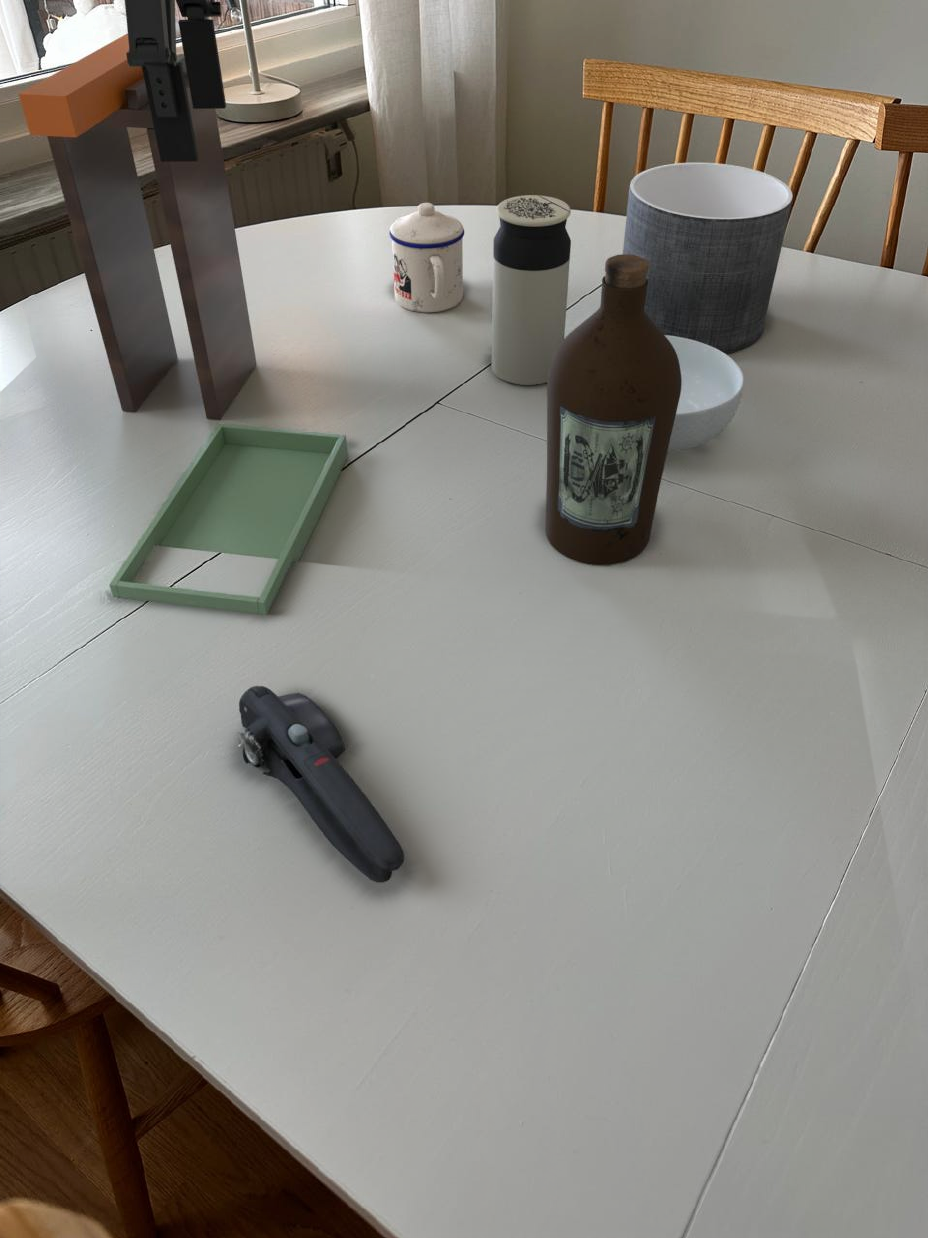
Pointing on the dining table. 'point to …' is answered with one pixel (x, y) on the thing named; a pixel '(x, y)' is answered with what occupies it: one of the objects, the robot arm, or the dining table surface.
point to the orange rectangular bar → (81, 92)
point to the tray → (241, 508)
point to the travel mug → (529, 287)
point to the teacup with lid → (427, 260)
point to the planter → (708, 248)
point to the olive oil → (609, 423)
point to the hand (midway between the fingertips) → (195, 132)
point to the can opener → (317, 776)
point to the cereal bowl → (704, 393)
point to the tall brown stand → (126, 260)
